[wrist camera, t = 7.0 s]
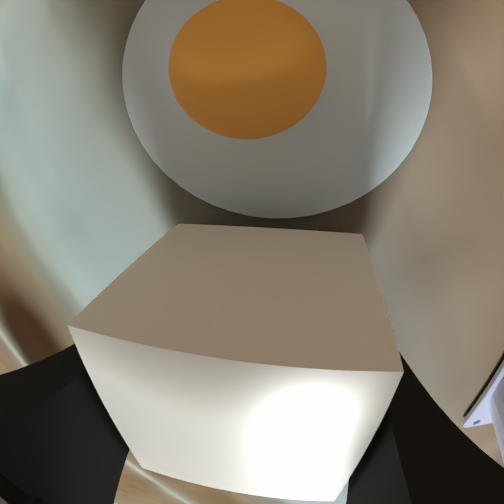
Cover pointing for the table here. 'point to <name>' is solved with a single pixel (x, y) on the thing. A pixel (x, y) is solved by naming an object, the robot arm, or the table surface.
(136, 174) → the table surface
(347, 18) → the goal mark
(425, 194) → the table surface
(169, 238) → the white cubic block
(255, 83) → the ball
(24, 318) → the table surface
